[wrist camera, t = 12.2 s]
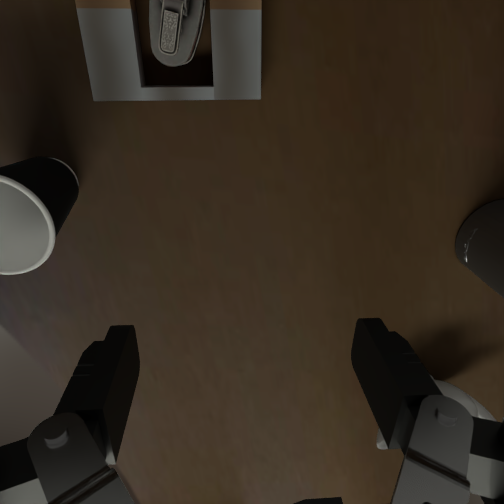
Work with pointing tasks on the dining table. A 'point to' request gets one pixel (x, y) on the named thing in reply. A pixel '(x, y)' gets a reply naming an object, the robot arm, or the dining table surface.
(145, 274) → the dining table surface
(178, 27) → the lighter
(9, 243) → the dixie cup
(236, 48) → the tan flat square frame
